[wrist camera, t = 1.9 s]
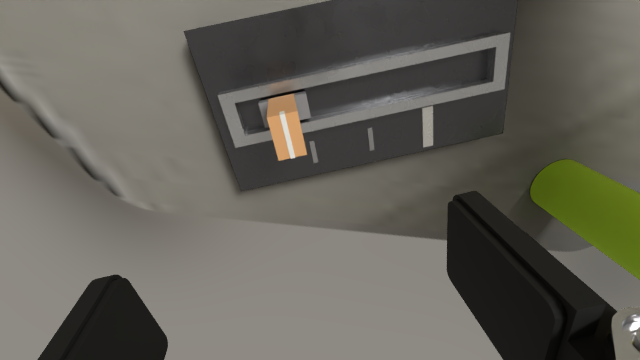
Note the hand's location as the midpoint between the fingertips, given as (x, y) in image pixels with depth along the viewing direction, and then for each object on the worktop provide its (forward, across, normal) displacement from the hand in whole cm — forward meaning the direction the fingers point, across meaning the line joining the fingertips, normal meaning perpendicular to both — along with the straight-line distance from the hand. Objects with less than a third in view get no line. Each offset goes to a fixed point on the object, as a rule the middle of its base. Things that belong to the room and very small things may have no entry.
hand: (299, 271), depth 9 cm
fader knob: (+17, 0, 0) cm, 17 cm away
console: (+20, -7, 0) cm, 21 cm away
